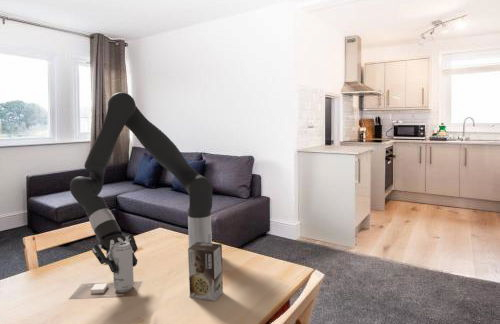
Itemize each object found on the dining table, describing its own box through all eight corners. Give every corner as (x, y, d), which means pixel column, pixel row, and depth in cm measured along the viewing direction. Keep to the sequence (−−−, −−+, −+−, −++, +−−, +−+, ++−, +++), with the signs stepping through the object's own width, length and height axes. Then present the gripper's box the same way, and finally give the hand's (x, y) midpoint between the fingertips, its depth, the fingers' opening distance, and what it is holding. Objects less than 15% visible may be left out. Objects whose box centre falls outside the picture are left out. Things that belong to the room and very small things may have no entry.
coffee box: (223, 292, 111) (222, 244, 109) (215, 302, 105) (214, 251, 103) (198, 287, 114) (197, 240, 112) (188, 297, 108) (187, 247, 106)
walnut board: (142, 284, 117) (142, 281, 117) (135, 299, 107) (135, 296, 107) (82, 286, 116) (81, 283, 115) (68, 302, 106) (68, 299, 106)
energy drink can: (110, 289, 111) (107, 245, 109) (126, 282, 116) (124, 239, 114) (121, 295, 108) (119, 249, 106) (137, 287, 112) (135, 243, 111)
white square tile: (107, 286, 113) (107, 283, 113) (103, 292, 109) (103, 289, 109) (95, 287, 113) (95, 283, 113) (90, 293, 109) (90, 289, 109)
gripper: (87, 224, 108) (108, 270, 102) (128, 214, 119) (150, 255, 113) (80, 237, 112) (100, 282, 106) (120, 226, 123) (141, 266, 117)
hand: (126, 268), depth 110 cm, fingers closed on energy drink can, 6 cm apart
